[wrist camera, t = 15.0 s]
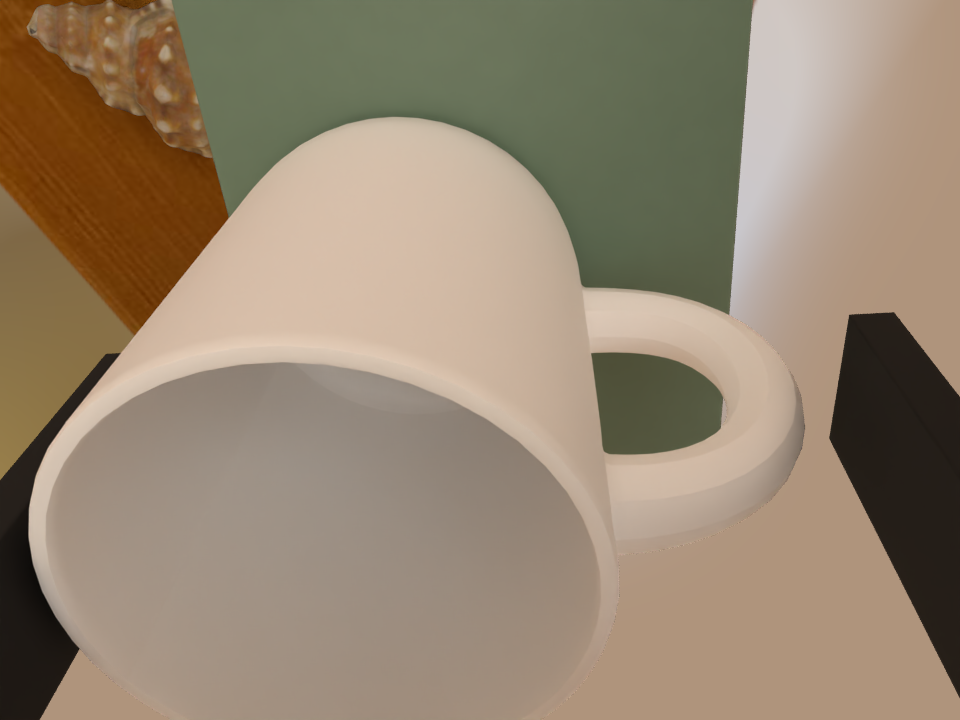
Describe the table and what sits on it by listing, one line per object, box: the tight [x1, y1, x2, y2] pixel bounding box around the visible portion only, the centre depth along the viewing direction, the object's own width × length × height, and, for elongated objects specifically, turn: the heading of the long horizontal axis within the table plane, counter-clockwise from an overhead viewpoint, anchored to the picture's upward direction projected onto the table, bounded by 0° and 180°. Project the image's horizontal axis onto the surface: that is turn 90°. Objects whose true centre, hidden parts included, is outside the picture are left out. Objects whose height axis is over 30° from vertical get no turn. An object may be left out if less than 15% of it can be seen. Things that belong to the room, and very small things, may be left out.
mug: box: [29, 117, 805, 720], centre depth 16 cm, size 12×8×10 cm
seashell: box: [27, 0, 213, 158], centre depth 45 cm, size 9×8×10 cm
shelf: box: [171, 0, 753, 455], centre depth 33 cm, size 12×14×30 cm
